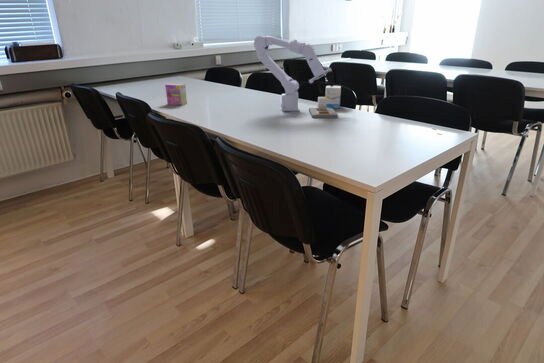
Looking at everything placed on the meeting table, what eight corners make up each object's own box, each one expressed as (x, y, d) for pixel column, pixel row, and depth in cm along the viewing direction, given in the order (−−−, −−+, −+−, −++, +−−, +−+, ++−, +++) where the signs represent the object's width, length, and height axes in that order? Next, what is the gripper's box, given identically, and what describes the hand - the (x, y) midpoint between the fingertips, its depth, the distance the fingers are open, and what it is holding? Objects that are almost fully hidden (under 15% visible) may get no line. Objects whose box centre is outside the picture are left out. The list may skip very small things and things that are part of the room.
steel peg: (318, 113, 203) (319, 98, 200) (317, 111, 207) (318, 96, 204) (325, 113, 203) (326, 98, 200) (324, 111, 207) (325, 96, 204)
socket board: (312, 117, 192) (312, 114, 192) (308, 110, 209) (308, 107, 208) (337, 117, 192) (337, 114, 192) (332, 110, 209) (332, 107, 208)
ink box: (339, 108, 213) (340, 87, 209) (324, 108, 215) (325, 87, 210) (339, 105, 221) (341, 85, 216) (325, 105, 222) (326, 85, 218)
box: (167, 104, 226) (164, 84, 221) (172, 102, 231) (170, 83, 226) (181, 105, 222) (179, 85, 218) (187, 103, 227) (185, 83, 223)
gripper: (309, 70, 193) (321, 94, 196) (329, 58, 198) (341, 81, 200) (302, 73, 199) (314, 96, 202) (322, 62, 204) (334, 84, 207)
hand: (327, 89), depth 202 cm, fingers open, 7 cm apart
